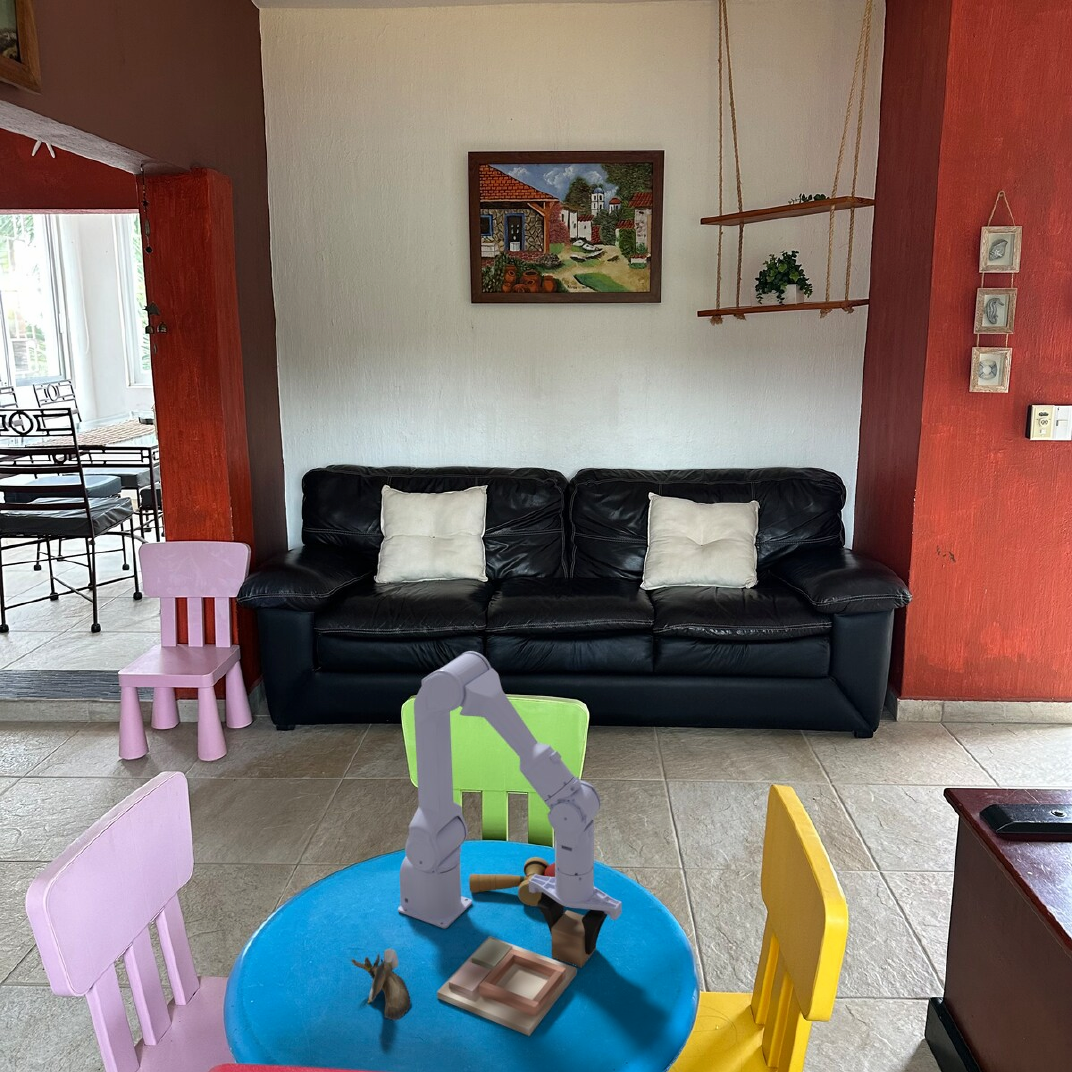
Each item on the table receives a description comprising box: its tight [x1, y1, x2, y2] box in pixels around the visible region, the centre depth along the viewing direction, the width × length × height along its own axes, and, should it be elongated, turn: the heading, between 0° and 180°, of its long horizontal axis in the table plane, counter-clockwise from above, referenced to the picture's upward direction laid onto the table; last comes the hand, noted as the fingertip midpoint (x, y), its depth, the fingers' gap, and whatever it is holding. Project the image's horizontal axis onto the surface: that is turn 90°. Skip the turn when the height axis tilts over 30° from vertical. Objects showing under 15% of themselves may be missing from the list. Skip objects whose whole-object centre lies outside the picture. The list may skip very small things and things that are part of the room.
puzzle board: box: [436, 935, 578, 1037], centre depth 140 cm, size 15×14×2 cm
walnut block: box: [550, 909, 597, 969], centre depth 147 cm, size 5×5×5 cm
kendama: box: [468, 856, 555, 907], centre depth 161 cm, size 8×6×18 cm
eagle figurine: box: [350, 948, 412, 1021], centre depth 137 cm, size 8×7×9 cm
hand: (574, 944), depth 147 cm, fingers closed on walnut block, 5 cm apart
